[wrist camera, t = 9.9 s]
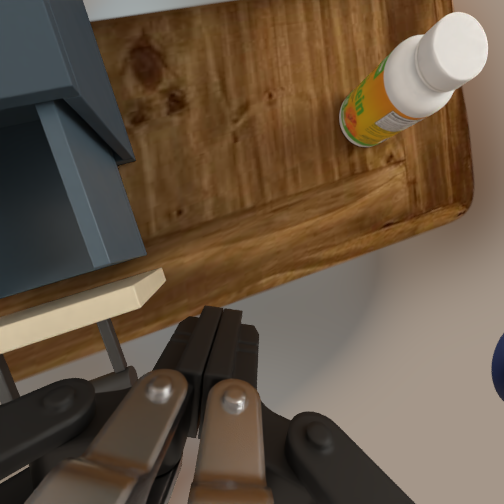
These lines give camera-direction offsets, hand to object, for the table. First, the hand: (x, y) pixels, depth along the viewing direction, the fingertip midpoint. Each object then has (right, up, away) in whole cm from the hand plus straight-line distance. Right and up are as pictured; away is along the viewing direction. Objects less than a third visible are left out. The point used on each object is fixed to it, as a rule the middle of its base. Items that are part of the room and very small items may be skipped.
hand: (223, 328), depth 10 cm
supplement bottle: (+12, +16, +15) cm, 25 cm away
